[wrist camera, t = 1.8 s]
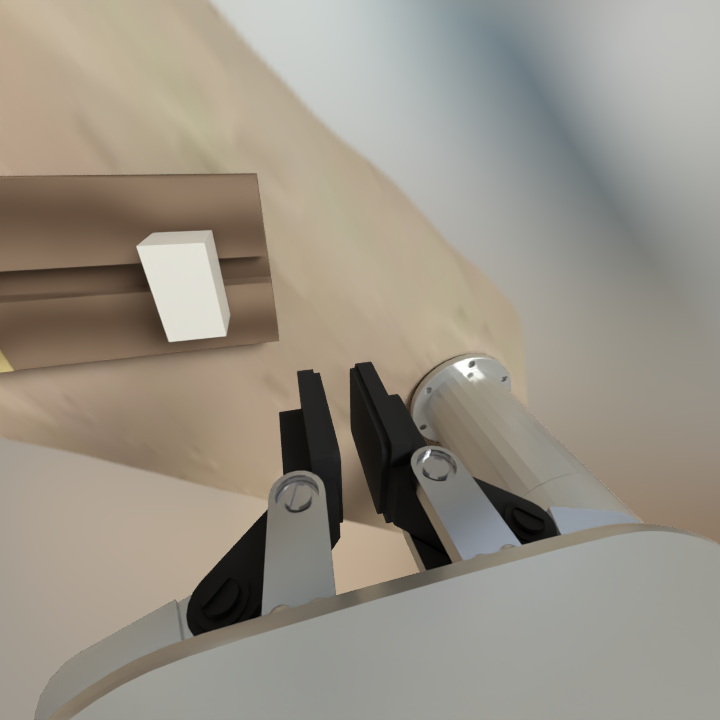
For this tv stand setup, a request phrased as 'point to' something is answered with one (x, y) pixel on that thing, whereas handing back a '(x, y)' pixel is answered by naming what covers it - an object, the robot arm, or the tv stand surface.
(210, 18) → the tv stand surface
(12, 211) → the fader console
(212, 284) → the fader knob
